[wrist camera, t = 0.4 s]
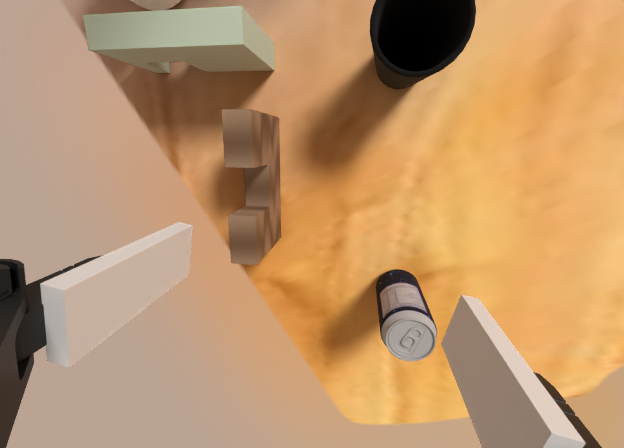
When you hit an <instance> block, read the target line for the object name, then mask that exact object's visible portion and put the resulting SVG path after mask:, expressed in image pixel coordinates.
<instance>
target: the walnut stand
mask: <svg viewBox="0 0 624 448" xmlns="http://www.w3.org/2000/svg"><path fill="white" fill-rule="evenodd" d="M221 111H222V126H223V142H224V157H225V167H236V168H244V177H245V198H246V206H244V207H242V208H240V209H238V210H236V211H235V212H233V213H231V214H229V215H228V219H229V235H230V250H231V263H238V264H250V265H258V264H259V262H260V261H261V260H262V259H263V258H264V256H265V255H266V254H267V253H268V252H269V251H270V249H271V248H272V247H273V246H274V245H275V244H276V242H277V241H278V240H279V239H280V238H281V210H280V144H279V118H278V117H275V116H271V115H268V114H265V113H262V112H258V111H255V110H252V109H221Z"/></svg>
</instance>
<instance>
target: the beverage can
mask: <svg viewBox="0 0 624 448" xmlns="http://www.w3.org/2000/svg"><path fill="white" fill-rule="evenodd" d="M376 293H377V303H378V313H379V323H380V332H381V338H382V340H383V342H384V344H385V345H386V346H387V348H388V350H389V351H390V352H391V353H392V354H393V355H394V356H395V357H397V358H399V359H402V360H405V361H418V360H421V359H424V358H426V357H427V356H429V355H430V354H431V353H432V351H433V350H434V348H435V345H436V337H437V329H436V325H435V323H434V320H433V318H432V316H431V313H430V311H429V308H428V306H427V303H426V301H425V298H424V296H423V293H422V291H421V289H420V286H419V284H418V281H417V279H416V278H415V277H414V276H413V275H412V274H411V273H409V272H407V271H404V270H398V269H397V270H391V271H388V272H386V273H384V274H383V275H382V276H381V277H380V278H379V280H378V282H377V285H376Z"/></svg>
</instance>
